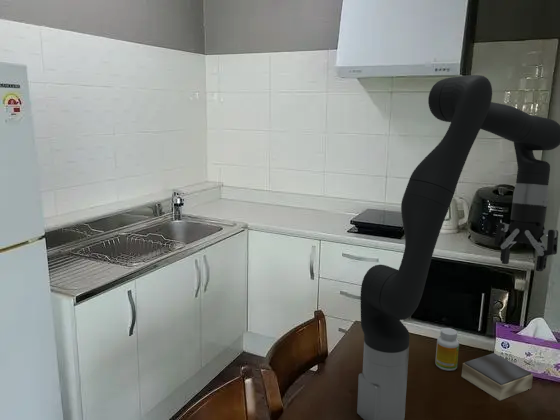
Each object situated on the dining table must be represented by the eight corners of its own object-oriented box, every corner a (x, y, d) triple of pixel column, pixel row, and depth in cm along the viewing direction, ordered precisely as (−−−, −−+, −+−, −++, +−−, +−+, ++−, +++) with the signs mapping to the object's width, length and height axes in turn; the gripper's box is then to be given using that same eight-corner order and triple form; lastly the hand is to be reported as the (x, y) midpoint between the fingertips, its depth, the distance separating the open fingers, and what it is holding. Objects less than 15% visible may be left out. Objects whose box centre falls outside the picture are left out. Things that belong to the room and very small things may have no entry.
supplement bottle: (458, 372, 115) (462, 336, 113) (436, 370, 116) (439, 334, 114) (455, 361, 120) (458, 327, 119) (434, 359, 121) (436, 325, 120)
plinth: (499, 400, 104) (501, 384, 103) (461, 376, 113) (462, 361, 113) (531, 388, 108) (533, 373, 108) (492, 366, 118) (493, 352, 117)
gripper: (493, 199, 116) (486, 262, 117) (552, 205, 104) (544, 274, 105) (509, 200, 120) (502, 261, 121) (567, 206, 109) (559, 272, 110)
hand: (521, 267), depth 113 cm, fingers open, 8 cm apart
